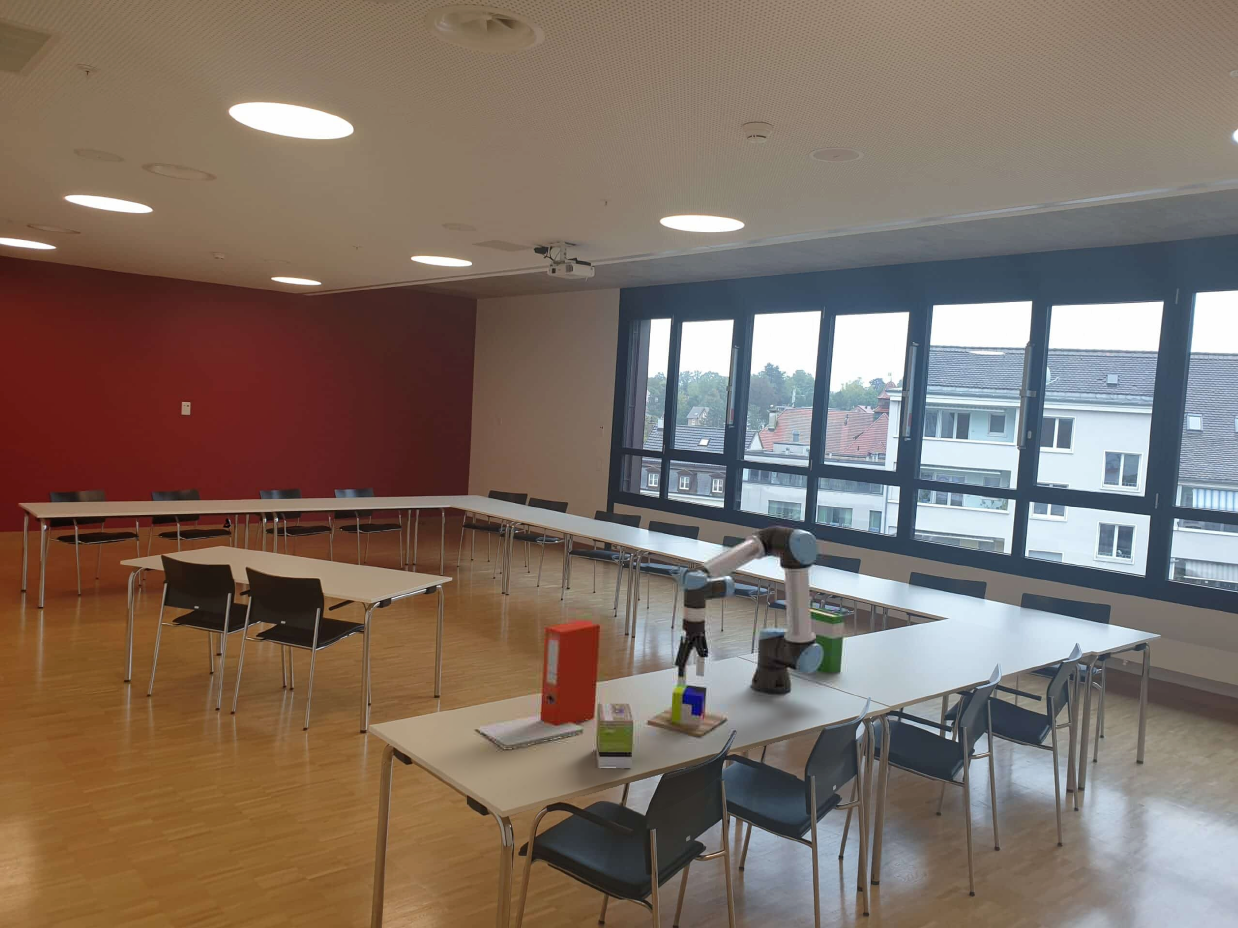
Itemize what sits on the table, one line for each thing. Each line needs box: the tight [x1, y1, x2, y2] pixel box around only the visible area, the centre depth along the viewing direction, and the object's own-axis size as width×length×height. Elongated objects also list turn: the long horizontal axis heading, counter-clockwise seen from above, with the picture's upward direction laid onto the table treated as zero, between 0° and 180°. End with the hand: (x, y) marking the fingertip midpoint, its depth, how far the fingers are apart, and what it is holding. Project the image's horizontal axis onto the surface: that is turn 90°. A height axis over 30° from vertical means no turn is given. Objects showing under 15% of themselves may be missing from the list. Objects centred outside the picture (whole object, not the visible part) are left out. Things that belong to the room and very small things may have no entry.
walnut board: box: [647, 706, 728, 738], centre depth 298 cm, size 20×20×1 cm
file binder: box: [540, 619, 601, 726], centre depth 292 cm, size 8×17×32 cm, turn 136°
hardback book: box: [810, 606, 845, 675], centre depth 371 cm, size 18×7×24 cm, turn 40°
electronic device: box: [475, 714, 584, 749], centre depth 281 cm, size 29×20×2 cm
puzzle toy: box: [671, 683, 707, 726], centre depth 297 cm, size 10×10×10 cm
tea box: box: [595, 702, 634, 769], centre depth 262 cm, size 15×10×15 cm, turn 5°
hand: (690, 680), depth 297 cm, fingers open, 13 cm apart
